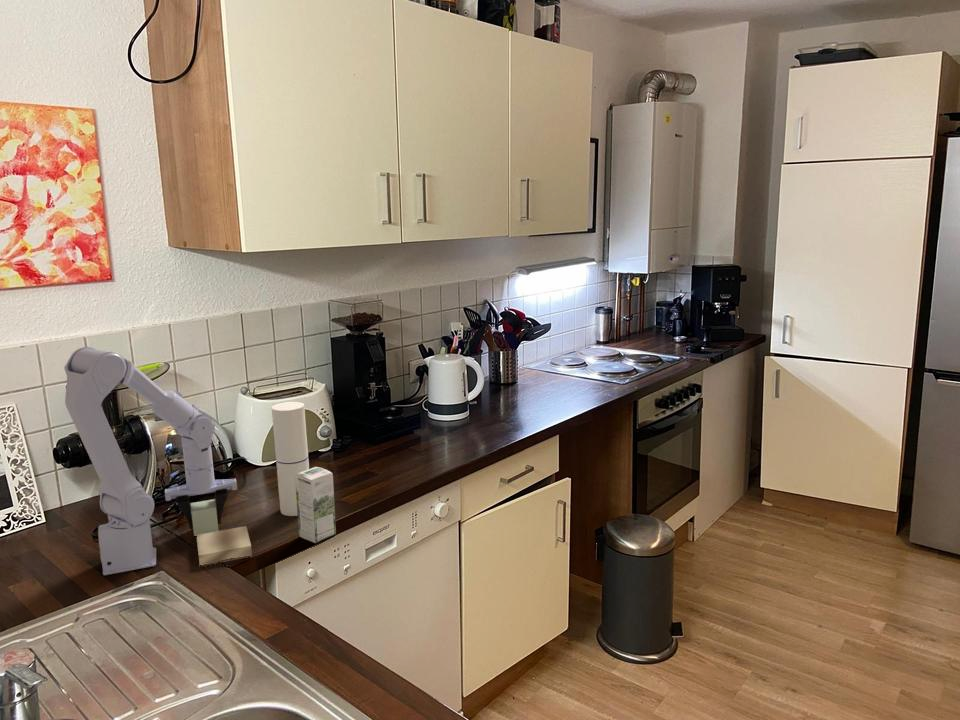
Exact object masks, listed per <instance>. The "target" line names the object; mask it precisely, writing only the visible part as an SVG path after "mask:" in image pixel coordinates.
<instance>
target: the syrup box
mask: <svg viewBox="0 0 960 720" xmlns="http://www.w3.org/2000/svg"><path fill="white" fill-rule="evenodd" d="M295 486H296V501H297V515H298V516H297V525H298V526H297V527H298V528H297V529H298V536H299V537H300V538H301V539H304V540H306V541H309V542H311V543H314V544H317V543H319V542H322V541H323V540H326V539H328V538H330V537H333V536H335V535H336V533H337V530H336V529H337V528H336V525H337V524H336V511H335V510H336V508H335V491H334V489H335V488H334V474H333V472H331V471H330V470H329V469H325V468H323V467H319V466H314V467H312V468H309V469H308V470H306V471H303V472H300V473H297V474H295Z"/></svg>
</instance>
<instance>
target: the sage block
mask: <svg viewBox="0 0 960 720" xmlns="http://www.w3.org/2000/svg"><path fill="white" fill-rule="evenodd" d="M190 510H191V515H192V522H193V529H192V530H193V537H194V536H197V535H199V534H204V533H210V532H215V531H220V530H219V524H218V521H217V511H216V499H215V498H214V499H208V500H201V501H196V502H190Z"/></svg>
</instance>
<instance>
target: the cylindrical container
mask: <svg viewBox="0 0 960 720" xmlns="http://www.w3.org/2000/svg"><path fill="white" fill-rule="evenodd" d="M271 415H272V416H271V417H272V425H273V426H272V429H273V438H274V439H273V440H274V452H275V461H276V463H275V464H276V475H277V485H278V486H277V487H278V497H279V498H278V499H279V508H280V510H279V511H280V513H281V514H282V515H283V516H287V517H295V516H296V517H298V515H297V501H296V486H295V474H297V473H300V472H303V471H306V470H308V469H310V462H309V461H310V460H309V448H308V439H307V438H308V437H307V425H306V424H307V423H306V411H305V403H304V402H300V401H286V402H279V403H277V404H273V405H272V406H271Z"/></svg>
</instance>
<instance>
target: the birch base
mask: <svg viewBox="0 0 960 720" xmlns="http://www.w3.org/2000/svg"><path fill="white" fill-rule="evenodd" d="M196 543H197V552H198V553H197V554H198V561H199V563H198V564H199V566H200V565H204V564H209V563H214V562H219V561H221V560H225V559H230V558H238V557H244V556H252V557H253V550H252V543H251V540H250V535H249V531H248V528H247V525H244V526H238V527H234V528H233V527H231V528H227V529H222V530H219V531H215V532H210V533H204V534H199V535H197V537H196Z"/></svg>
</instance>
